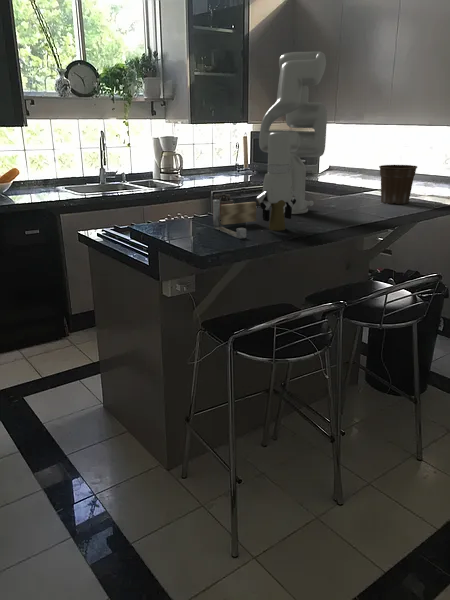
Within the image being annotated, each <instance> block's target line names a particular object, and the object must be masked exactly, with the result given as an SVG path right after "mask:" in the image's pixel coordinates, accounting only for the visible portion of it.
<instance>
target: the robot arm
mask: <svg viewBox="0 0 450 600" xmlns="http://www.w3.org/2000/svg"><path fill="white" fill-rule="evenodd" d="M326 58H327V57H326V54H325V53H323V52H322V51H291V52H285V53H283V54H281V56H280V57H279V60H278V66H279V67H278V68H279V78H278V85H277V93H276V101H275V103H274V104H272V106H271V107H269V109H268V110H267V111H266V113H265V114H264V115H263V118H262V119H261V124H260V127H259V128H260V130H259V137H258V143H259V144H258V145H259V149H260V151H262V152H263V153H267V173H265V174H264V179H263V184H262V192H261V194H259V195H258V196H257V197H256V198H255V199H256V201H257V202H256V203H258V206H259V207H260V208H261V210H262V220H263V221H264V222H267V223H268V222H270V215H271V210H270V209H269V208H270V207H271V204H275V203H278V201H280V200H283V201H284V202H285V206H284V207H283V209H284V219H288V220H290V219H291V220H292V215H300V214H301V215H302V214H306V213H308V212H309V208H308V206H310V207H311V206H314V204H315V202H314V201H313V200H309V201H308V200H306V199H305V198H306V176H307V168H306V165H305V164H304V162H303V160H302V159H301V158H320V157H322V156H323V155H324V154H325V151H326V139H327V123H328V113H327V112H328V111H327V106H326V105H325V104H324V103H323V102H319V101H318V102H317V101H316V102H315V101H314V102H309V94H310V90H309V89H310V88H309V86H316V85H319V84H320V82H322V81H321V80H322V78H323V76H324V73H325V70H326V67H327V59H326ZM284 116H285V123H286V125H287V126H288V127H289V128H291V129H313V130H314V131H295V130H284V129H283V130H276V129H275V130H273V129H272V130H271V129H270V128H271V126H272V125H273V123H274V122H275V121H277V120H279V119H280V118H282V117H284Z"/></svg>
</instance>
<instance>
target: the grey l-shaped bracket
mask: <svg viewBox="0 0 450 600" xmlns="http://www.w3.org/2000/svg"><path fill="white" fill-rule="evenodd" d="M212 200H213V203H212V221H213V229H214V230H217V231H219V230H220V232H222V233H224V234H227V235H229V236H232V237H235V238H236V239H247V228H244V227H238V228H236V229H235V230H236V231H234V230H231V229H228V228H226V227H223V226H222V225H221V221H220V200H221V199H219V200H217V199H212Z"/></svg>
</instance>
